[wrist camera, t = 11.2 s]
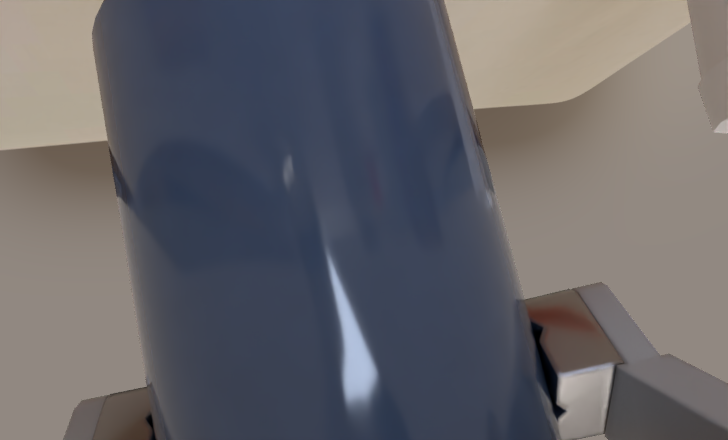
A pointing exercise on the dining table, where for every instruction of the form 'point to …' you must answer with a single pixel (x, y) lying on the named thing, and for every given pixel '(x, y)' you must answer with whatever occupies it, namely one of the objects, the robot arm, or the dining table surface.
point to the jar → (313, 225)
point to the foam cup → (712, 57)
